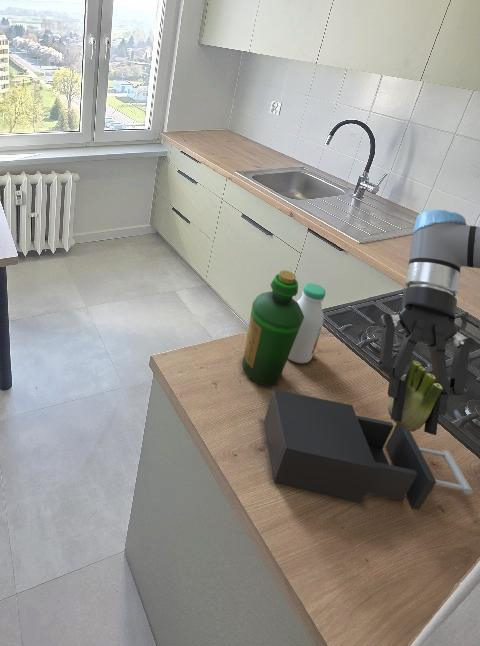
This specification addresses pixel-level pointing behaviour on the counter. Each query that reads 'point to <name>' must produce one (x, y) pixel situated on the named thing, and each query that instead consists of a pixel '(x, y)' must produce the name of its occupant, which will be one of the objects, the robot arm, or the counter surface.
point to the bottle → (272, 330)
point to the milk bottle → (308, 323)
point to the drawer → (404, 464)
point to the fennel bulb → (417, 397)
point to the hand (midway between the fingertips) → (412, 426)
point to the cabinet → (318, 446)
